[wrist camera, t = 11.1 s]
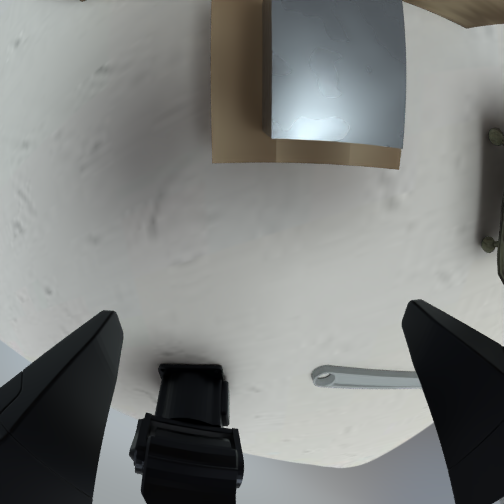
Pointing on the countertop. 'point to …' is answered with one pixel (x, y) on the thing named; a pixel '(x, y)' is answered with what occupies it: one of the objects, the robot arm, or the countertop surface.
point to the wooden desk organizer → (250, 88)
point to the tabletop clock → (488, 242)
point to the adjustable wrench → (364, 378)
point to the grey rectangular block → (334, 71)
